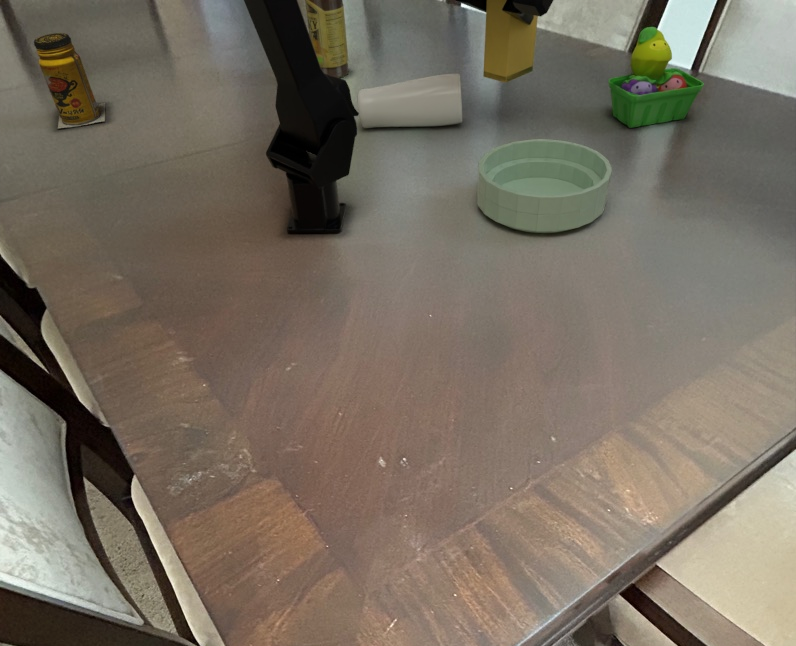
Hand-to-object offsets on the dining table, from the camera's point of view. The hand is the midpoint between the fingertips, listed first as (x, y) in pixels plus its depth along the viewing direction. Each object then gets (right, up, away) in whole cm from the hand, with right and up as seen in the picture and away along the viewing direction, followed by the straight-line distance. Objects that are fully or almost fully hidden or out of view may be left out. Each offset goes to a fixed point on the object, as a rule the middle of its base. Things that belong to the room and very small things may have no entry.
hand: (518, 18), depth 89 cm
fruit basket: (+21, -9, +10) cm, 25 cm away
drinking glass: (-22, -8, +10) cm, 25 cm away
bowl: (+1, -27, -8) cm, 29 cm away
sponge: (-1, -5, +4) cm, 7 cm away
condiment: (-68, -4, +20) cm, 71 cm away
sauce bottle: (-28, +7, +29) cm, 41 cm away
